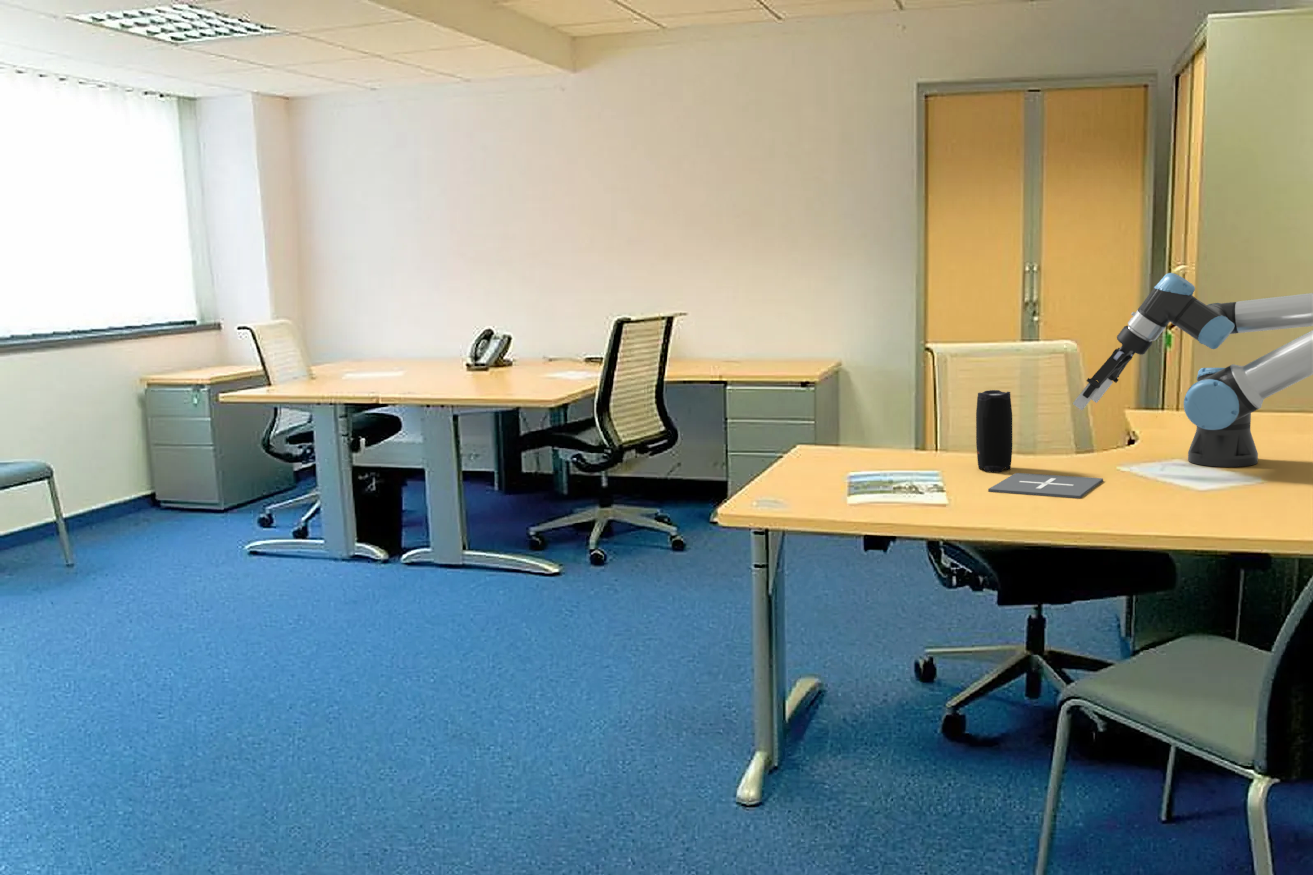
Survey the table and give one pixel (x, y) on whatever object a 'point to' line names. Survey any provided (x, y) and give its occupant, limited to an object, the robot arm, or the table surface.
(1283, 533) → the table surface
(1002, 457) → the portable speaker
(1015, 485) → the pad
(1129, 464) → the table surface
